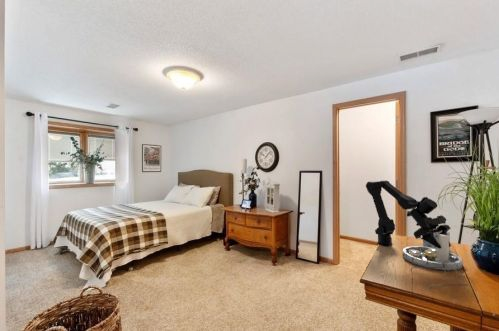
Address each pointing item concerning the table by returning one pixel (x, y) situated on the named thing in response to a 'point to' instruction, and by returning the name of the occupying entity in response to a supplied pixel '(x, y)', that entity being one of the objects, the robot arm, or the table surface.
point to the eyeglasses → (445, 272)
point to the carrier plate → (430, 258)
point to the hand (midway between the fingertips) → (445, 247)
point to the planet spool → (443, 249)
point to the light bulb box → (427, 244)
